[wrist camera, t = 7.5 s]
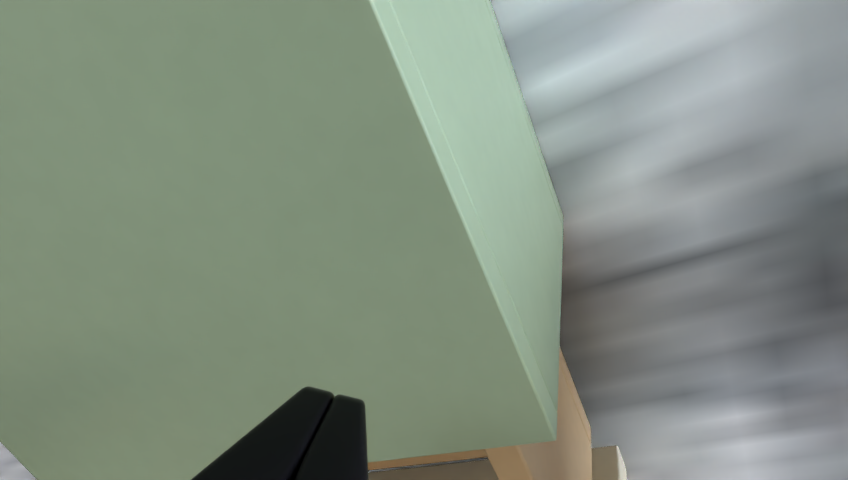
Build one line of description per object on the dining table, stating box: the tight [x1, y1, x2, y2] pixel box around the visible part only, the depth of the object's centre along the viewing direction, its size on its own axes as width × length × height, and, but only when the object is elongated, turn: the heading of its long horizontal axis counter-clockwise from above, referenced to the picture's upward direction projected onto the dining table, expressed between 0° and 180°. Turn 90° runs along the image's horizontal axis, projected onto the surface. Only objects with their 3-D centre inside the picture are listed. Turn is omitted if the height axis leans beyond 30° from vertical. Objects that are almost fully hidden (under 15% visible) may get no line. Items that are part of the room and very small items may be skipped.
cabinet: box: [0, 0, 563, 480], centre depth 15 cm, size 14×13×8 cm
